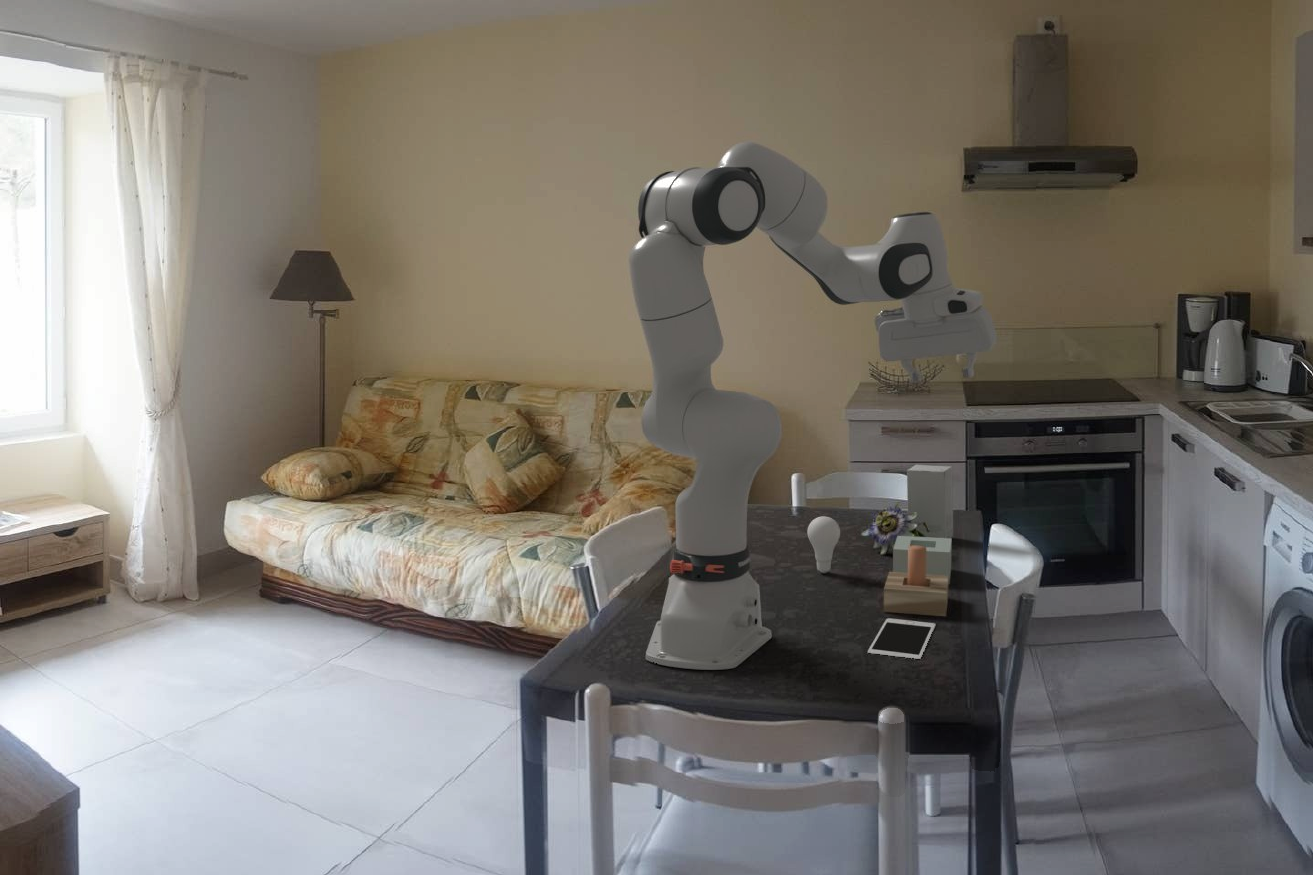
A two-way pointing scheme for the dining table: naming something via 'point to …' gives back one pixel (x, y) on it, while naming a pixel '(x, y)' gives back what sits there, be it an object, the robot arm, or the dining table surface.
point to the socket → (935, 554)
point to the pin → (917, 565)
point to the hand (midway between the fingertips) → (942, 379)
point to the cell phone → (902, 638)
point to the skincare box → (931, 499)
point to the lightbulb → (823, 540)
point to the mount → (916, 595)
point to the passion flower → (892, 527)
